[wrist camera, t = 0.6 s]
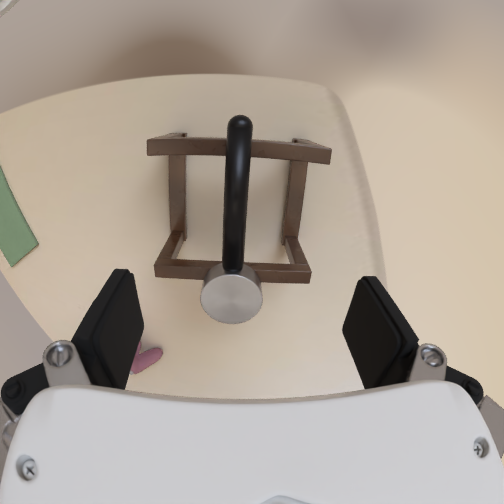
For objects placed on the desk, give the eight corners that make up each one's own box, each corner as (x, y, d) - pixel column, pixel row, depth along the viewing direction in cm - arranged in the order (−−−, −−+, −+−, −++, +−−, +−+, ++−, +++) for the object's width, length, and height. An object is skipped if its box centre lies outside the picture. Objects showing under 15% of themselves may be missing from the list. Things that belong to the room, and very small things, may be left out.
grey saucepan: (204, 114, 16) (200, 113, 15) (276, 118, 17) (281, 117, 15) (203, 307, 24) (201, 322, 22) (258, 309, 24) (259, 324, 22)
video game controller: (115, 299, 35) (83, 331, 29) (133, 303, 32) (98, 339, 27) (147, 347, 39) (122, 379, 34) (167, 353, 37) (140, 388, 32)
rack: (171, 133, 24) (143, 139, 17) (308, 140, 25) (334, 149, 18) (172, 237, 29) (153, 277, 22) (295, 243, 30) (311, 283, 23)
